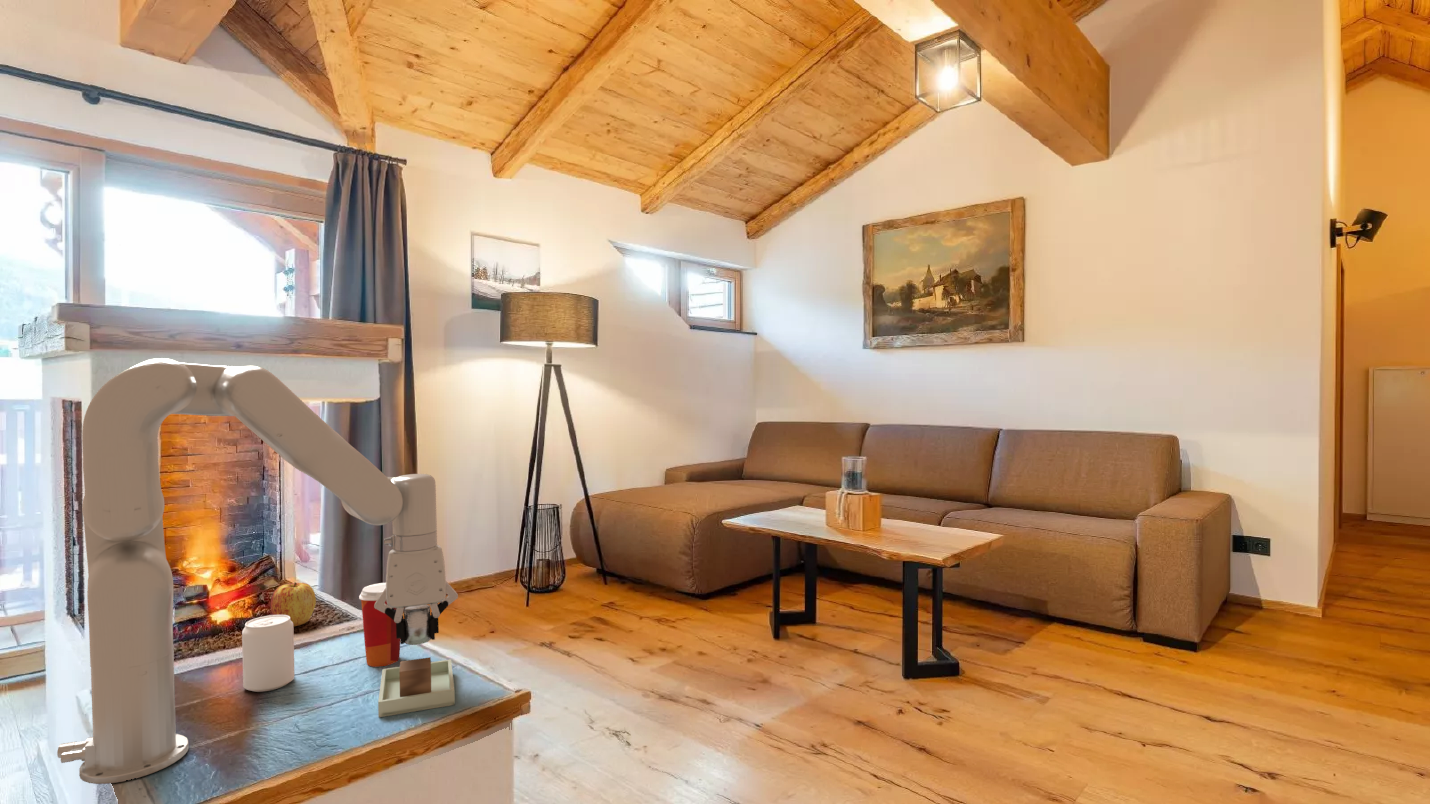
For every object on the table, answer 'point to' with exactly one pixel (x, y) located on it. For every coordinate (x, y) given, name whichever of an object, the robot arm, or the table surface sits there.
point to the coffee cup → (378, 629)
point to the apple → (294, 602)
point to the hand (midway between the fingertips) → (417, 638)
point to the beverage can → (268, 653)
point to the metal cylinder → (417, 624)
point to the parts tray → (436, 698)
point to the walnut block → (415, 677)
